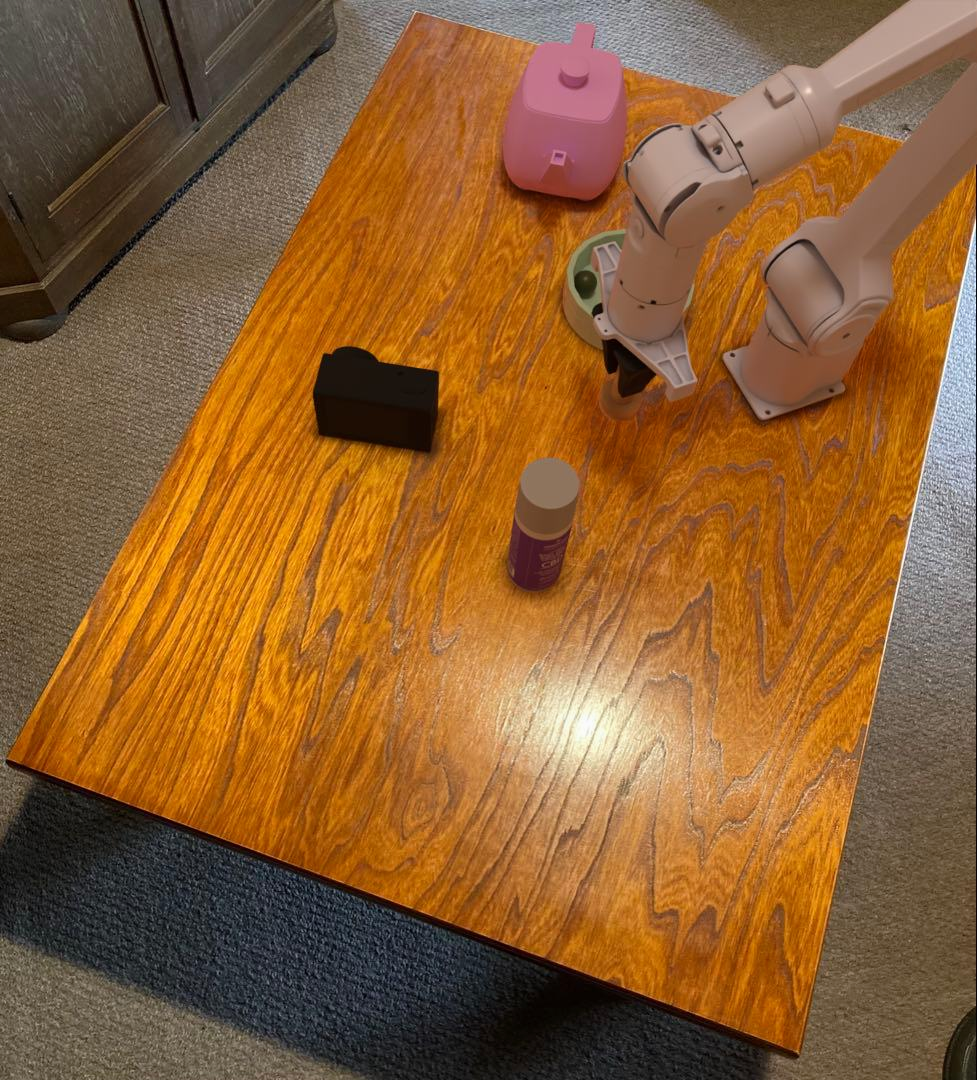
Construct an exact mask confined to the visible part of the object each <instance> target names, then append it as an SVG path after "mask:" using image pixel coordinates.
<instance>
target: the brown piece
mask: <svg viewBox="0 0 977 1080" xmlns="http://www.w3.org/2000/svg"><path fill="white" fill-rule="evenodd" d="M623 347H624V346H623ZM618 379H619V364H618V367H617V371H616V373H615V374H614V378H613V379H610V380H608V381H607V382H605V384H604V385H603V386H602V388H601V391H600V395H599V399H598V407H599V409H600V411H601V413H602V414H603V415H604V416H605V417H606V418H608V419H610V420H612V421H615V422H626V421H627V422H628V421H629V420H632V419H633V418H635V416H637V414H638V413H639V410H640V408H641V403H642V401H643V395H642V392H640V393H637V394H634V395H631V396H628V397H625V398H621V396H620V394H619V392H618V387H617V386H618Z"/></svg>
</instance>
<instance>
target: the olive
mask: <svg viewBox="0 0 977 1080" xmlns="http://www.w3.org/2000/svg"><path fill="white" fill-rule="evenodd" d="M574 285H575V289H576V290H577V292H578V294H581V295H589V294H591V293H593V292H594V291H595V289H596V287H597V278H596V276H595V274H594V273H592V272H591V271H588V270H582V271H580V272H578V273H577V274H576V275H575V276H574Z"/></svg>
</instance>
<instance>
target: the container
mask: <svg viewBox="0 0 977 1080" xmlns="http://www.w3.org/2000/svg"><path fill="white" fill-rule="evenodd" d="M580 483H581V482H580V478H579V475H578V473H577V472H576V470H575V468H574V467H572V466H571V464H569V463H568V462H566V461H565V460H562V459H560V458H556V457H548V456H547V457H541V458H537V459H534V460H533V461H531V462H530V463H529V464H527V465H526V466H525V467H524V468H523V470H522V472H521V475H520V478H519V484H518V489H517V494H516V499H515V505H514V509H513V516H512V517H513V518H512V525H511V532H510V540H509V547H508V555H507V562H506V572H507V573H506V574H507V576H508V578H509V580H510V582H511V583H512V584H513V586H515V587H516V588H518V589H519V590H520V591H522V592H525V593H530V594H540V593H543V592H547V591H548V590H550V589H552V588H553V587H554V586H555V585H556V584H557V582H558V581H559V579H560V575H561V572H562V568H563V564H564V560H565V556H566V551H567V548H568V544H569V540H570V536H571V531H572V528H573V523H574V519H575V513H576V508H577V502H578V497H579V493H580Z"/></svg>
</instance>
